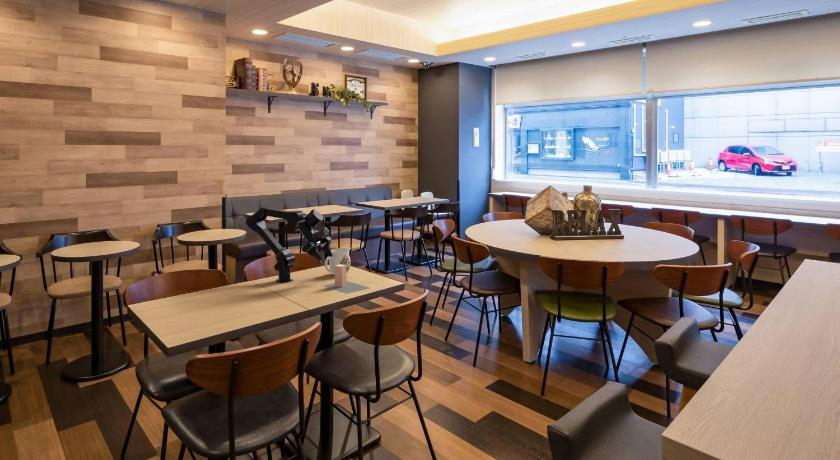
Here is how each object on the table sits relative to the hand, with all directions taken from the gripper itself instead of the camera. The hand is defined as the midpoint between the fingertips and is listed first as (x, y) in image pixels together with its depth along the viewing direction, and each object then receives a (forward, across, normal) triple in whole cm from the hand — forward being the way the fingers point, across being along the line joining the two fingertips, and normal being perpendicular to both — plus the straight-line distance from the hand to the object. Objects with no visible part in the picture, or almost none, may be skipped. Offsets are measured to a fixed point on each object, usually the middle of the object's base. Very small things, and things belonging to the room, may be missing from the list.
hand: (327, 258), depth 245 cm
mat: (+17, -2, 0) cm, 17 cm away
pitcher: (+7, +19, +12) cm, 24 cm away
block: (+15, -1, +2) cm, 15 cm away
